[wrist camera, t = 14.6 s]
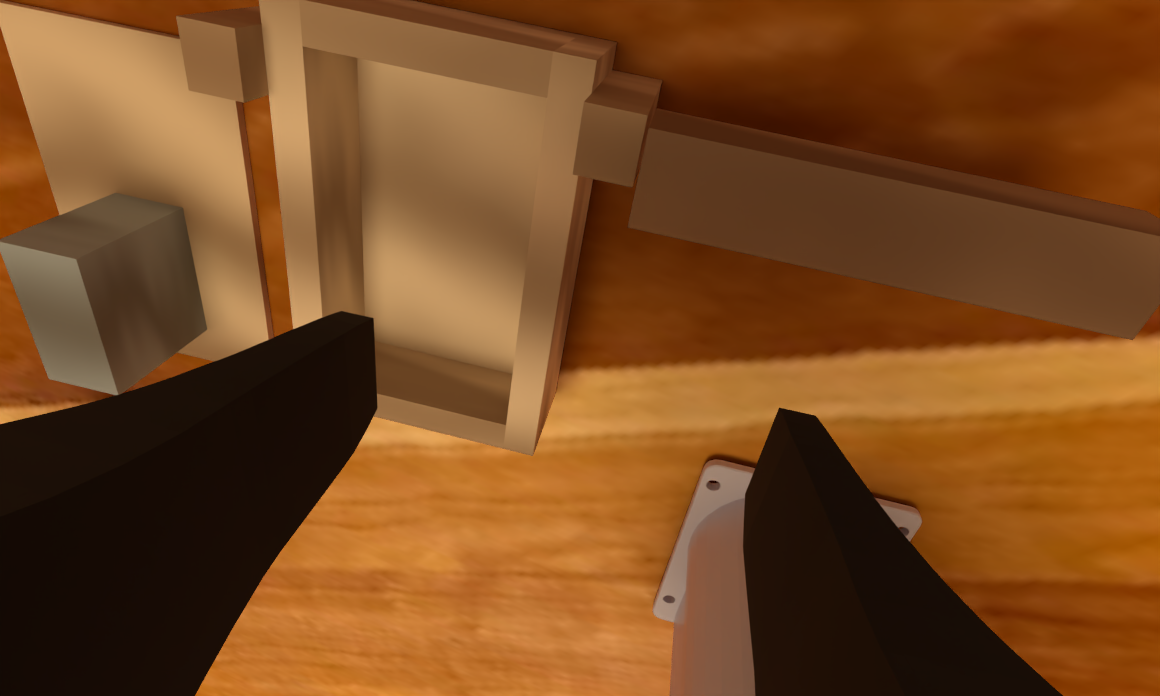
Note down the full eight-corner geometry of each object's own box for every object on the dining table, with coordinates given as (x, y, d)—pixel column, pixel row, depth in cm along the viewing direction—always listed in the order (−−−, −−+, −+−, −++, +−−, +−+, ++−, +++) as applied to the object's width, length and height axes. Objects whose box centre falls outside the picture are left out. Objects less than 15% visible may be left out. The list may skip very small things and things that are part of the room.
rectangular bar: (1086, 297, 14) (1132, 340, 12) (636, 199, 14) (627, 226, 13) (1146, 211, 13) (1204, 245, 11) (656, 108, 13) (648, 128, 12)
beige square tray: (592, 402, 23) (568, 488, 20) (316, 335, 24) (242, 405, 20) (668, 52, 17) (655, 80, 13) (286, -26, 18) (170, -20, 14)
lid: (285, 364, 26) (199, 447, 22) (112, 323, 26) (-6, 396, 22) (244, 45, 19) (110, 72, 15) (16, -1, 20) (-178, 12, 16)
